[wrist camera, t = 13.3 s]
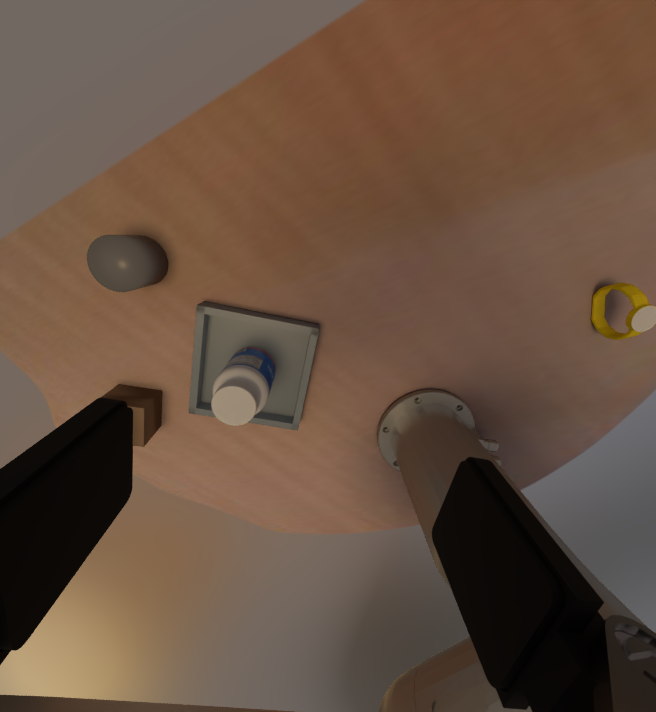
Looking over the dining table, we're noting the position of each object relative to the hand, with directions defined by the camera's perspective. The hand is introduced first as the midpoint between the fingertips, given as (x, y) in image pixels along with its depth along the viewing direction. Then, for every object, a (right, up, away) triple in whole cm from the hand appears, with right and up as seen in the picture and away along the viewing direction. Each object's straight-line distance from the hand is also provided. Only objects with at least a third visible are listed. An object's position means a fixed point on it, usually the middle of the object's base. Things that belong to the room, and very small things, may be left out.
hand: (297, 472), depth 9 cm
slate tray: (-8, +2, +29) cm, 30 cm away
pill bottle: (-8, +2, +29) cm, 30 cm away
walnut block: (-22, -3, +30) cm, 38 cm away
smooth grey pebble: (-19, +13, +25) cm, 34 cm away
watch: (+32, +9, +28) cm, 44 cm away
